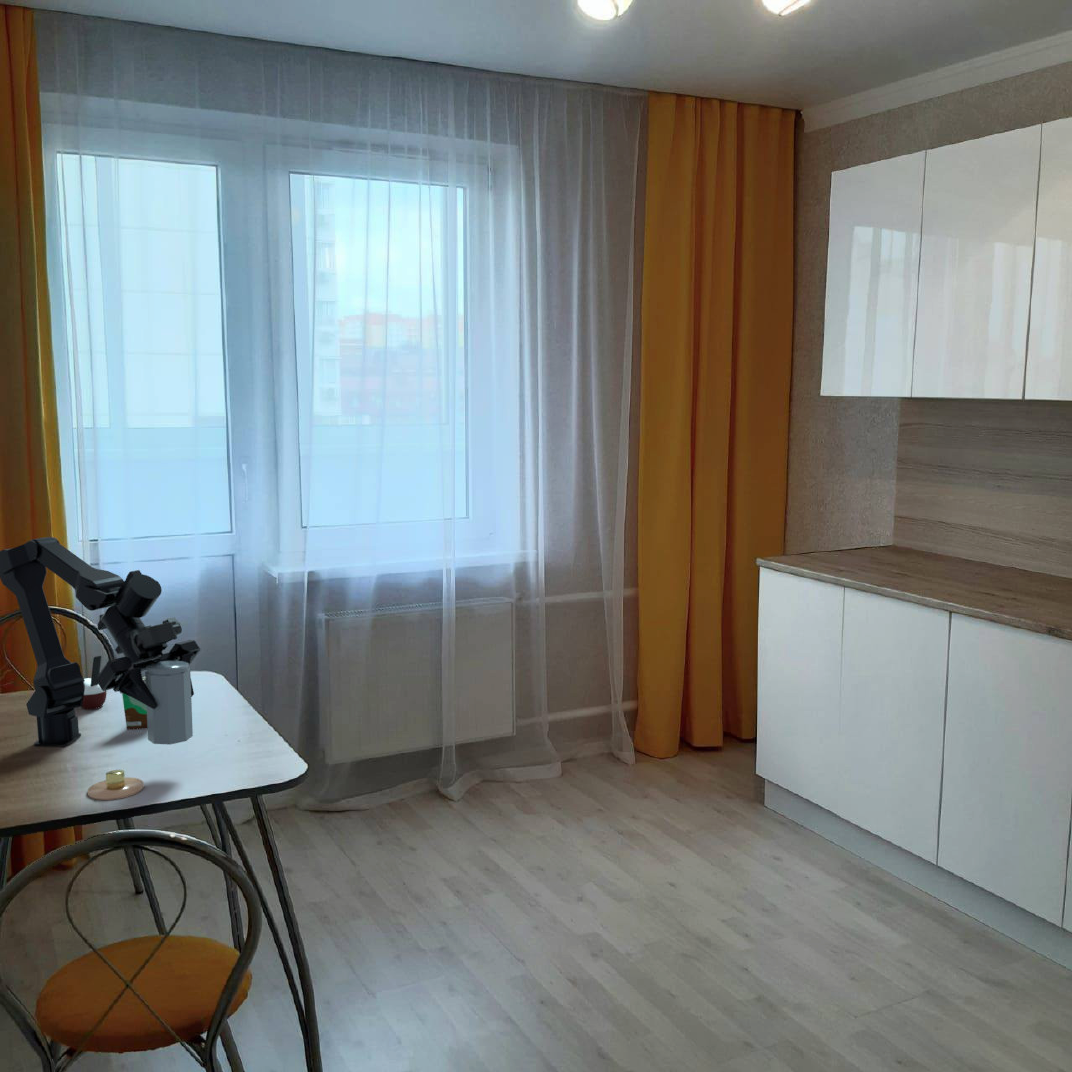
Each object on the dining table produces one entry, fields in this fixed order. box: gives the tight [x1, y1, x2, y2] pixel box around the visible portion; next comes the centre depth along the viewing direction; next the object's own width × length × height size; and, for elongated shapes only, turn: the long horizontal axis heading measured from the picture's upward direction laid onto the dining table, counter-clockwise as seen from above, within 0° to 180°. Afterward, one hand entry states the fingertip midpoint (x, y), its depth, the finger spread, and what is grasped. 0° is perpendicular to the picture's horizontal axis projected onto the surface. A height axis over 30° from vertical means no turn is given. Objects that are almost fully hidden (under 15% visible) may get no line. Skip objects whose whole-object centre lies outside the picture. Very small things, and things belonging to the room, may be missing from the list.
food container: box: [119, 675, 148, 731], centre depth 219 cm, size 12×6×10 cm, turn 168°
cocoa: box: [80, 655, 107, 711], centre depth 230 cm, size 10×6×12 cm, turn 24°
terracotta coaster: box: [87, 776, 145, 801], centre depth 184 cm, size 9×9×1 cm
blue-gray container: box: [144, 661, 194, 745], centre depth 190 cm, size 7×7×13 cm
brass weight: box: [105, 769, 126, 790], centre depth 184 cm, size 3×3×2 cm
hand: (174, 701), depth 189 cm, fingers closed on blue-gray container, 8 cm apart
